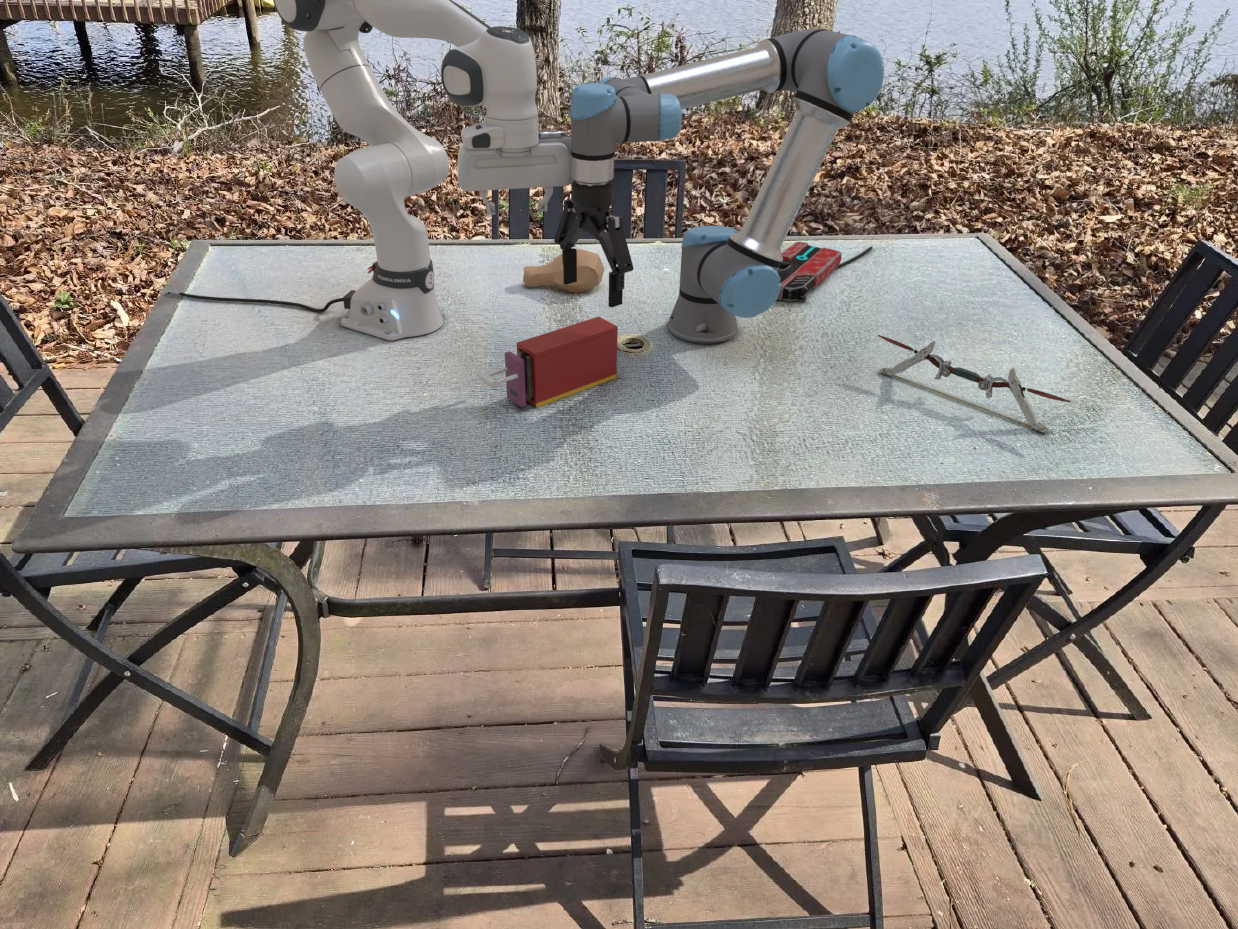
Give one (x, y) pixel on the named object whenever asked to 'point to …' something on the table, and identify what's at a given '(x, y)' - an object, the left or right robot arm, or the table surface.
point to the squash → (552, 273)
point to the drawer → (514, 377)
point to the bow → (983, 384)
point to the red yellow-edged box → (571, 359)
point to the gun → (805, 269)
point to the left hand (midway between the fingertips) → (517, 212)
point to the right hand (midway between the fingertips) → (592, 293)
